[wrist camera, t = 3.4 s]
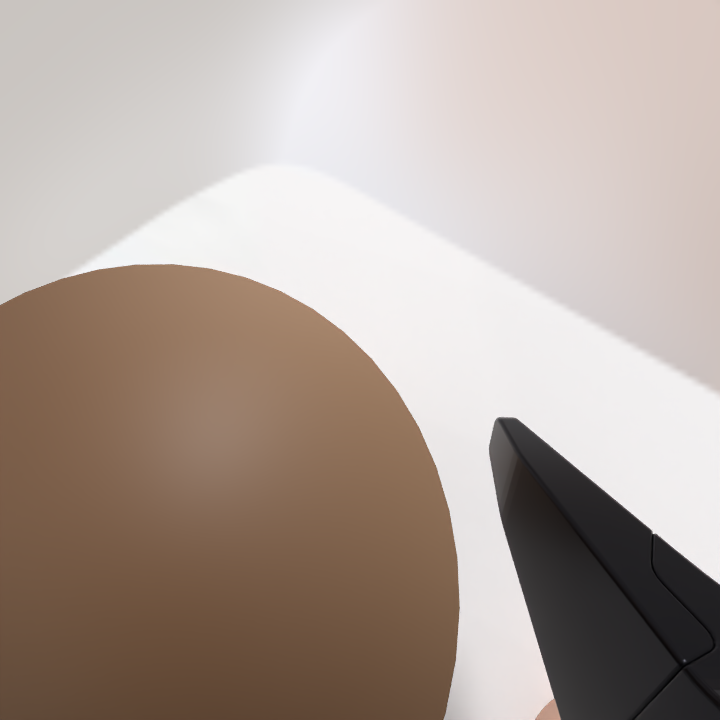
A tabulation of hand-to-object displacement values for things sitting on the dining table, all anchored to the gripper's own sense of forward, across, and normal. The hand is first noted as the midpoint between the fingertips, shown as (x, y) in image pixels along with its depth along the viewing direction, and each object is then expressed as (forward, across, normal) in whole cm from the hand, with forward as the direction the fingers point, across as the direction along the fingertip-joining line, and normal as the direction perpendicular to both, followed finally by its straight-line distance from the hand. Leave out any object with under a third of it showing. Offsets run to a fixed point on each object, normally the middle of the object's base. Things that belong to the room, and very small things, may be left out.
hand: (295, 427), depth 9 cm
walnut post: (+4, 0, +6) cm, 7 cm away
